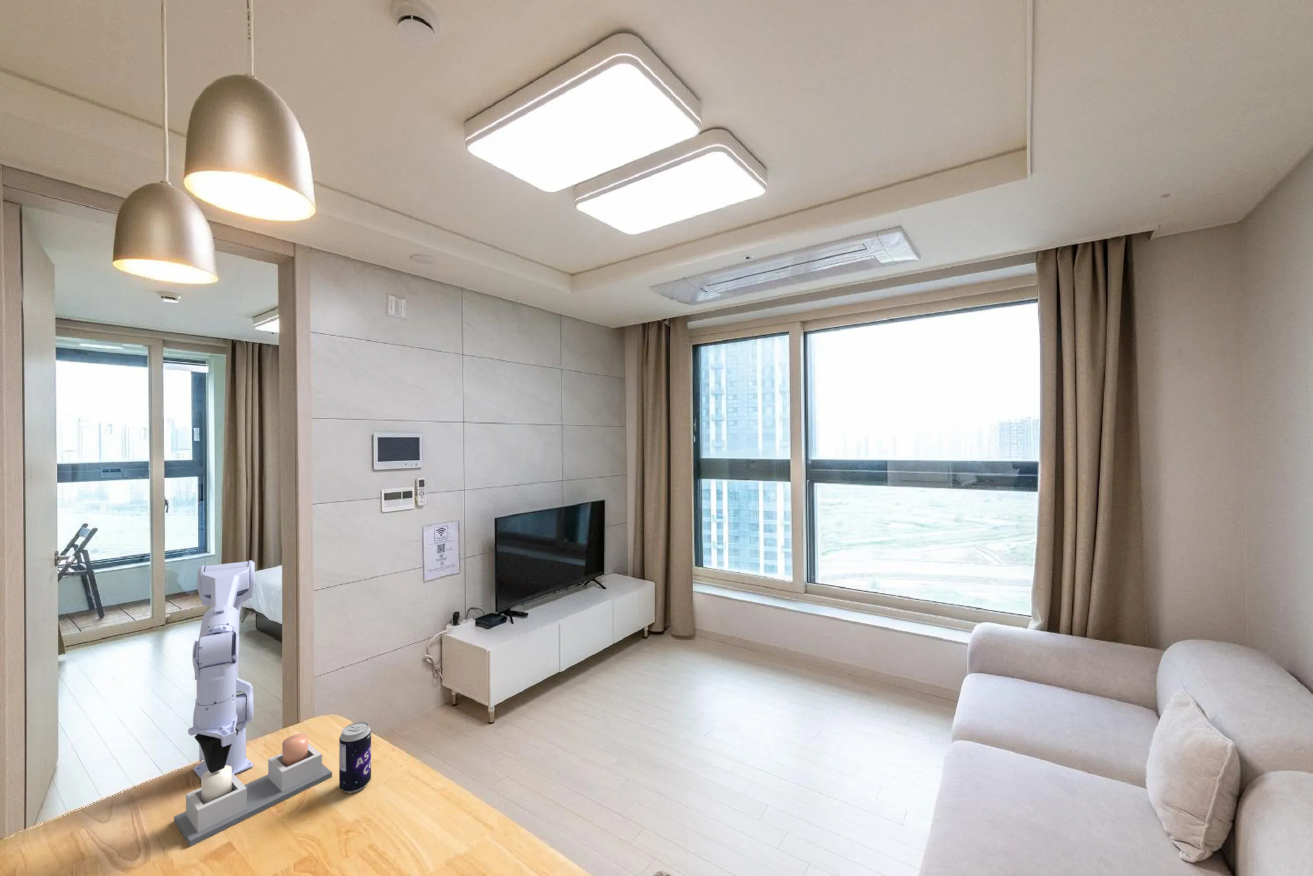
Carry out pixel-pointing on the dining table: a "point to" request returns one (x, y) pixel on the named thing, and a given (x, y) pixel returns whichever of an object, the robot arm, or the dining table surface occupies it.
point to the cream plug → (216, 784)
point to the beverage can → (354, 757)
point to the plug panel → (249, 797)
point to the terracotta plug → (294, 749)
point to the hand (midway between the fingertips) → (216, 769)
